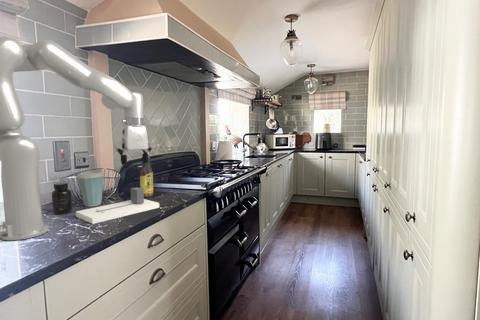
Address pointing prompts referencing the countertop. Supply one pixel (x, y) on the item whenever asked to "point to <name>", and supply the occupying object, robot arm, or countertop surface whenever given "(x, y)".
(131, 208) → the board
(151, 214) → the countertop surface
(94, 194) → the disposable coffee cup
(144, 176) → the sauce bottle
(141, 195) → the fader tab
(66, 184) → the supplement bottle
